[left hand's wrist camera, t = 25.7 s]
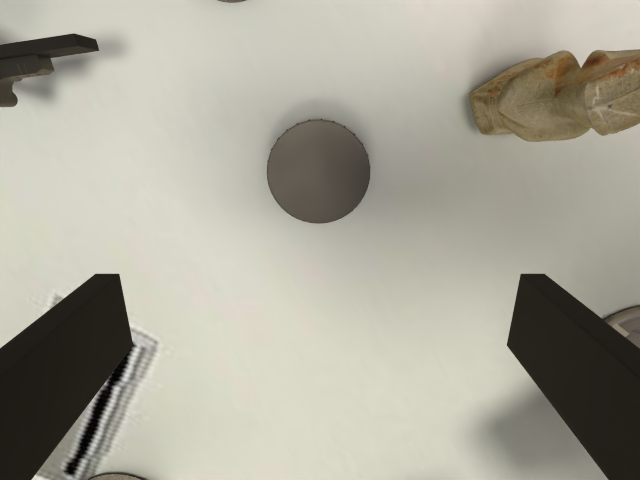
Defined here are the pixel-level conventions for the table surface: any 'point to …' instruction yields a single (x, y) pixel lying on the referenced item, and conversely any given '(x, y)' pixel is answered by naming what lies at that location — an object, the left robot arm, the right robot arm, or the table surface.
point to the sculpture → (561, 97)
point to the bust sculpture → (115, 477)
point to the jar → (231, 0)
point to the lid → (318, 171)
